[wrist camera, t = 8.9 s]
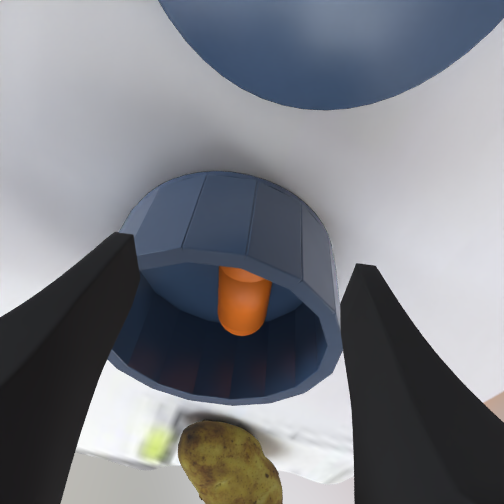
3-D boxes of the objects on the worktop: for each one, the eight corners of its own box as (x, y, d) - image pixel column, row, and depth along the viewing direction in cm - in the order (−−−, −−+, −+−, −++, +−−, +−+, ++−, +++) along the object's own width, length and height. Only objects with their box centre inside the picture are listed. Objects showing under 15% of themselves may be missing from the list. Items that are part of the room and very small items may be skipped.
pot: (85, 244, 23) (34, 322, 18) (236, 120, 17) (214, 193, 12) (223, 344, 29) (210, 421, 24) (372, 279, 23) (391, 367, 18)
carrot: (242, 300, 25) (273, 328, 24) (207, 322, 24) (238, 354, 22) (252, 203, 20) (293, 232, 18) (207, 224, 18) (248, 257, 17)
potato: (250, 405, 35) (241, 504, 29) (292, 456, 43) (291, 542, 37) (175, 412, 38) (153, 504, 32) (227, 460, 45) (216, 541, 39)
